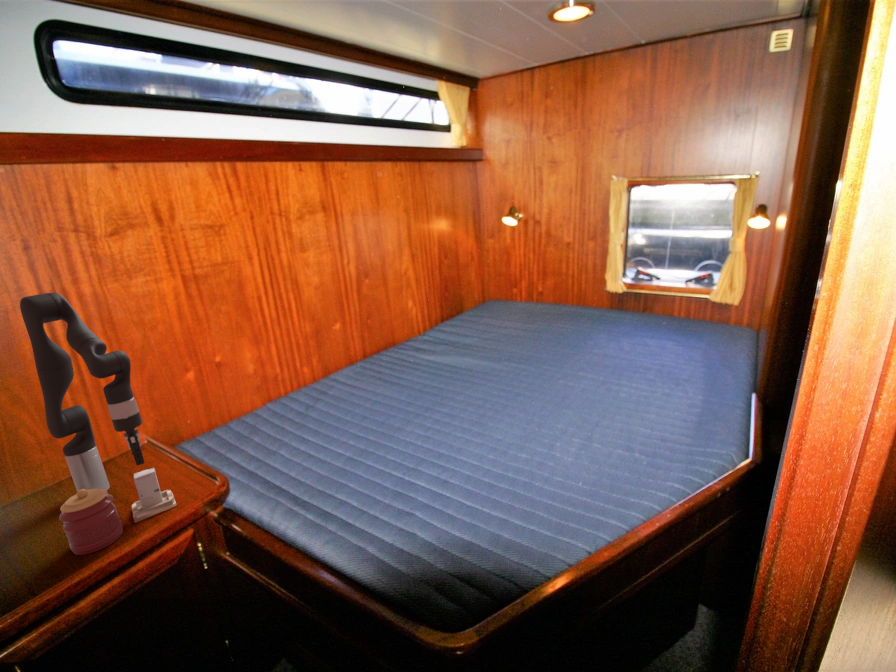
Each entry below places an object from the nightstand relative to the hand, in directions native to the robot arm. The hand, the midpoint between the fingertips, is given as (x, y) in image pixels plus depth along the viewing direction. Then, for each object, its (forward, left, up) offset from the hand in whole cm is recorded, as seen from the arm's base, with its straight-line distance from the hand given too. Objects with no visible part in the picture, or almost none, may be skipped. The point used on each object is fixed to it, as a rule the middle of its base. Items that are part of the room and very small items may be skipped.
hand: (139, 460), depth 149 cm
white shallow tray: (0, 0, -18) cm, 18 cm away
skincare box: (0, 0, -17) cm, 17 cm away
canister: (+7, -15, -18) cm, 25 cm away
